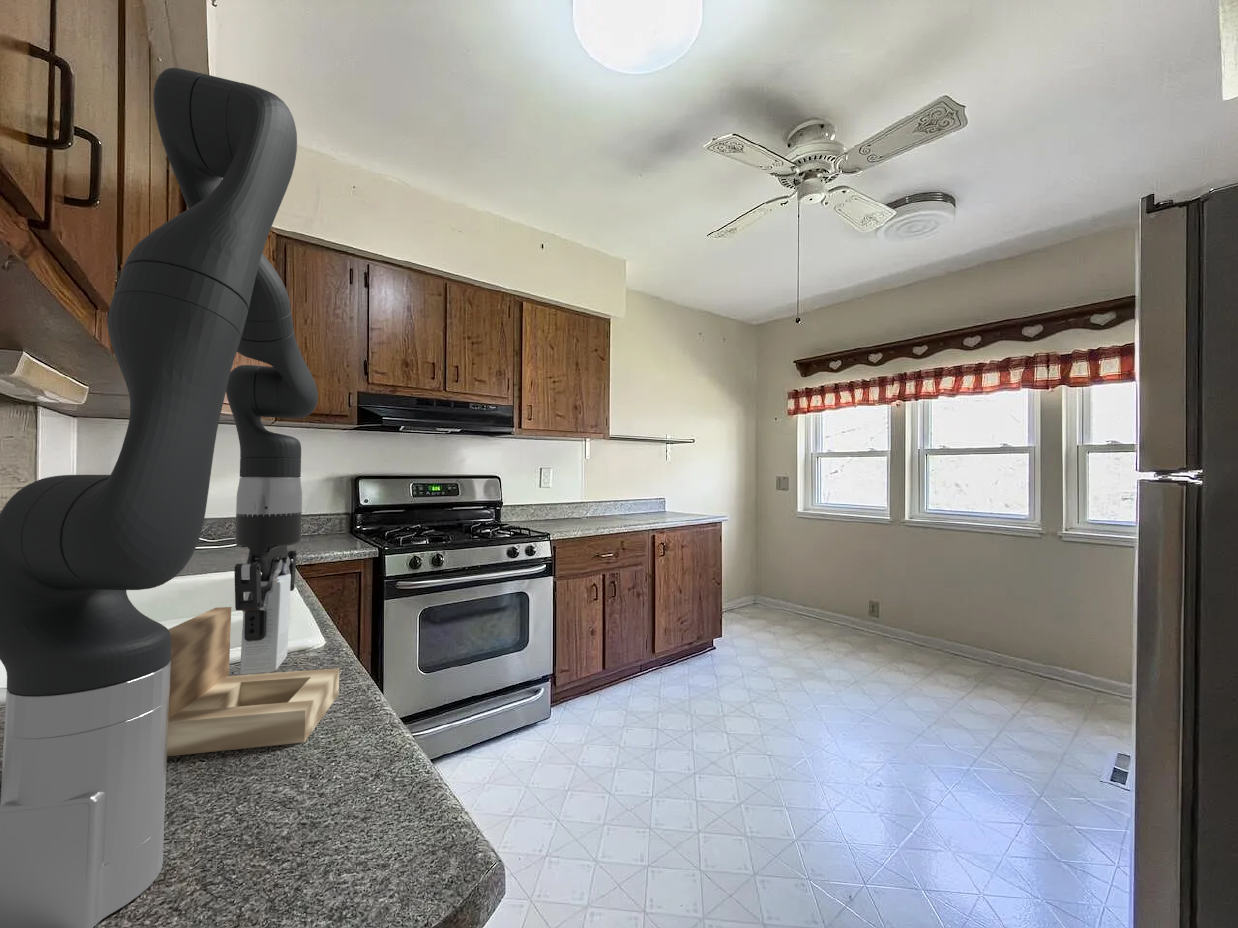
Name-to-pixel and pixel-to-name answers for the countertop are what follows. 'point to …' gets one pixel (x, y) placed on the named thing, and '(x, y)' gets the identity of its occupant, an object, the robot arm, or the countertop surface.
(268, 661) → the skincare box
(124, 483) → the robot arm
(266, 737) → the wooden frame with backboard
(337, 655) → the countertop surface
